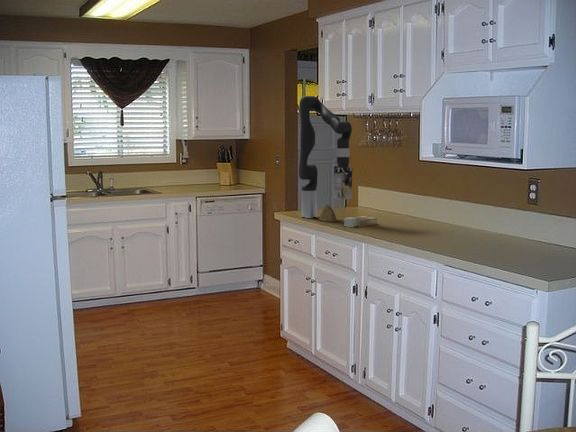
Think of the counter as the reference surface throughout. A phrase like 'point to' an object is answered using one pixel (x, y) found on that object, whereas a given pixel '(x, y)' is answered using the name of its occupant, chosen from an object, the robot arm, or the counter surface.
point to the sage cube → (350, 222)
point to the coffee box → (342, 186)
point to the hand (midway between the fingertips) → (343, 184)
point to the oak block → (365, 220)
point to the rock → (327, 214)
